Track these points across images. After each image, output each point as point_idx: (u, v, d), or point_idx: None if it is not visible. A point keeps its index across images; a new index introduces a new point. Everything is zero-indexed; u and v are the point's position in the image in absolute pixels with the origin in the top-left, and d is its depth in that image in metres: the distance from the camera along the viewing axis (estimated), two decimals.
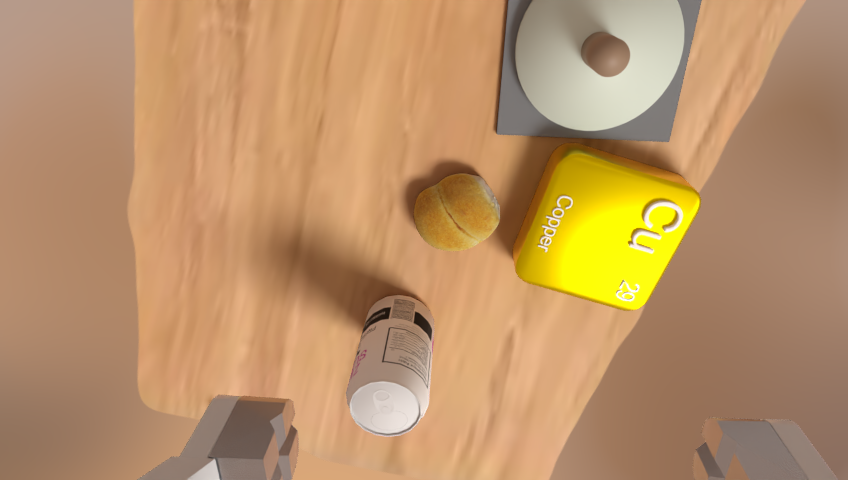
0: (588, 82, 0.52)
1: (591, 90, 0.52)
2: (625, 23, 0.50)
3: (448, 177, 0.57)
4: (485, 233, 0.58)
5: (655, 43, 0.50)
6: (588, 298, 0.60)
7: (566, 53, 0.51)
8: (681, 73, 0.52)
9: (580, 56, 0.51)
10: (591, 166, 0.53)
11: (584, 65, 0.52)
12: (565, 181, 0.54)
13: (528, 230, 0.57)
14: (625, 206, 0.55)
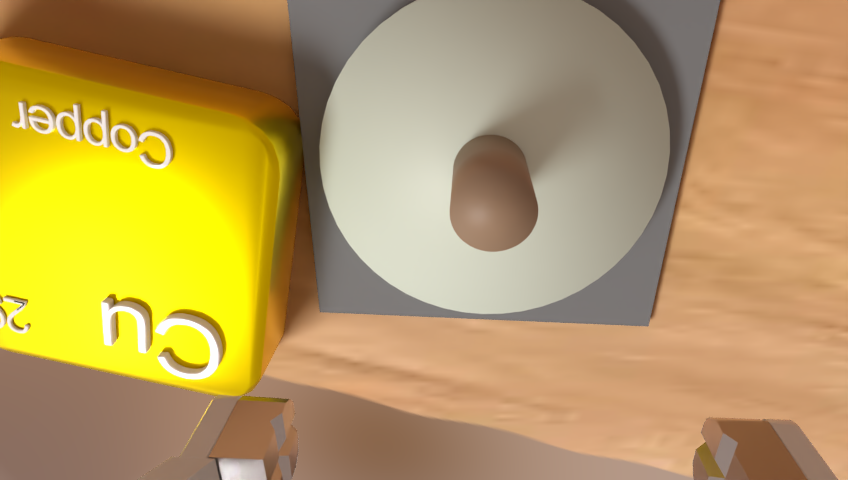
0: (422, 159, 0.24)
1: (406, 167, 0.24)
2: (540, 213, 0.25)
3: None
4: None
5: (501, 269, 0.26)
6: None
7: (483, 104, 0.23)
8: (443, 313, 0.29)
9: (477, 135, 0.24)
10: (256, 194, 0.23)
11: (458, 145, 0.24)
12: (206, 142, 0.22)
13: (55, 69, 0.22)
14: (186, 277, 0.25)
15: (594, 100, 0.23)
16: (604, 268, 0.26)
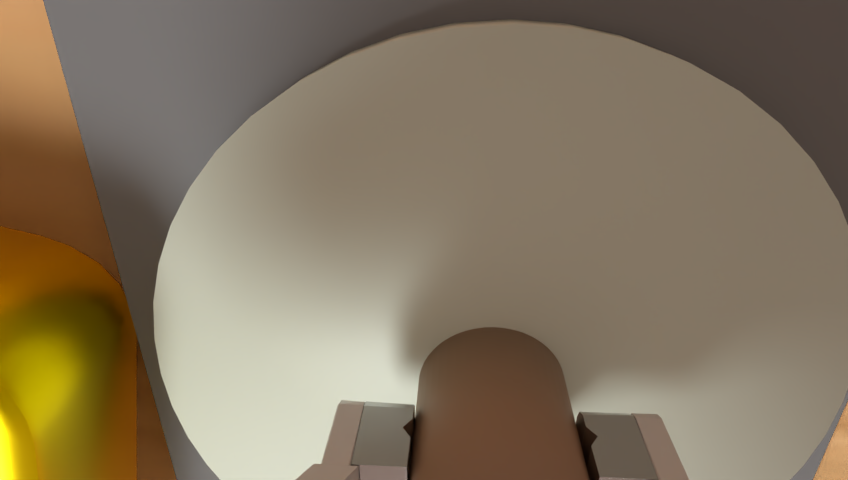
0: (358, 365, 0.12)
1: (328, 377, 0.12)
2: None
3: None
4: None
5: None
6: None
7: (478, 273, 0.11)
8: None
9: (465, 328, 0.12)
10: None
11: (428, 344, 0.12)
12: None
13: None
14: None
15: (711, 270, 0.11)
16: None
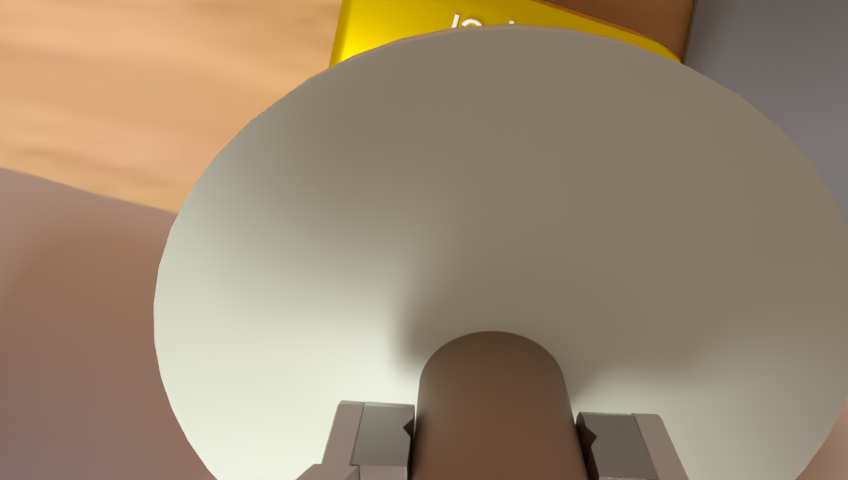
0: (358, 368, 0.12)
1: (328, 381, 0.12)
2: None
3: None
4: None
5: None
6: None
7: (479, 277, 0.11)
8: None
9: (466, 331, 0.12)
10: None
11: (428, 348, 0.12)
12: None
13: None
14: None
15: (711, 274, 0.11)
16: None
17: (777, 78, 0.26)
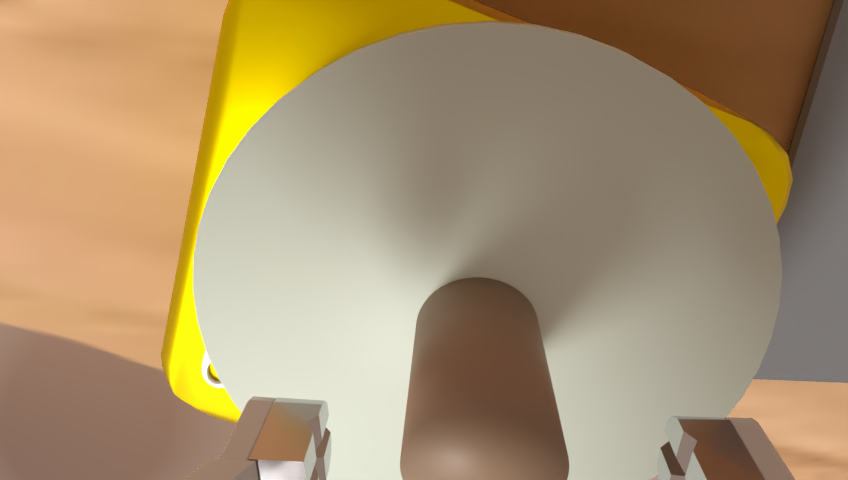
0: (364, 311, 0.15)
1: (339, 323, 0.15)
2: (559, 391, 0.15)
3: None
4: None
5: None
6: (188, 255, 0.16)
7: (465, 230, 0.13)
8: None
9: (455, 278, 0.14)
10: None
11: (423, 293, 0.14)
12: None
13: (483, 11, 0.13)
14: None
15: (655, 226, 0.13)
16: None
17: None
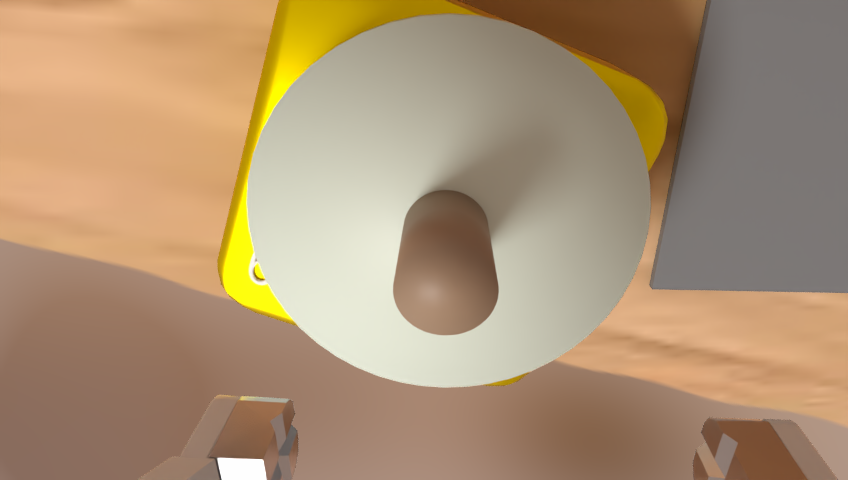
0: (367, 217, 0.21)
1: (349, 226, 0.21)
2: (505, 276, 0.22)
3: None
4: None
5: (462, 338, 0.23)
6: (244, 179, 0.22)
7: (435, 156, 0.20)
8: (790, 287, 0.27)
9: (429, 190, 0.20)
10: None
11: (408, 202, 0.21)
12: None
13: (454, 2, 0.19)
14: None
15: (563, 151, 0.19)
16: (580, 335, 0.23)
17: (794, 110, 0.23)
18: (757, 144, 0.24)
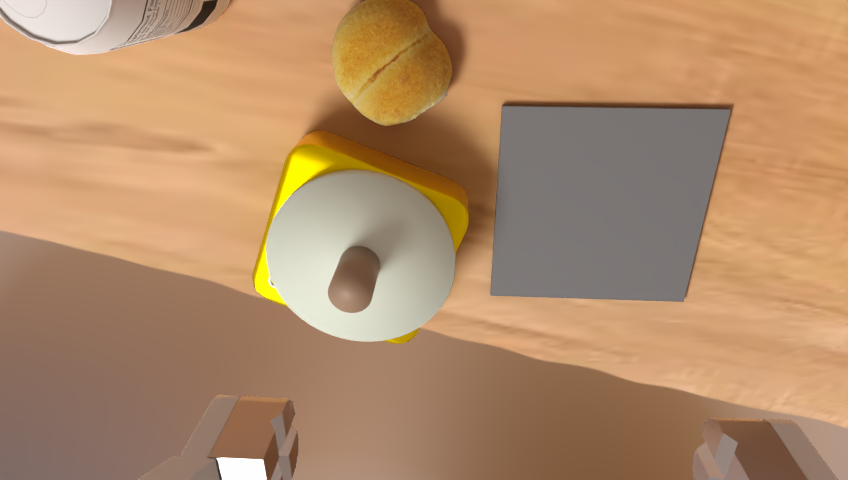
0: (322, 258, 0.44)
1: (314, 262, 0.44)
2: (390, 286, 0.45)
3: (445, 49, 0.40)
4: (369, 110, 0.41)
5: (372, 316, 0.46)
6: None
7: (352, 231, 0.43)
8: (564, 295, 0.50)
9: (351, 246, 0.43)
10: None
11: (341, 251, 0.44)
12: None
13: (365, 162, 0.42)
14: None
15: (410, 229, 0.42)
16: (430, 315, 0.46)
17: (549, 206, 0.46)
18: (533, 222, 0.47)
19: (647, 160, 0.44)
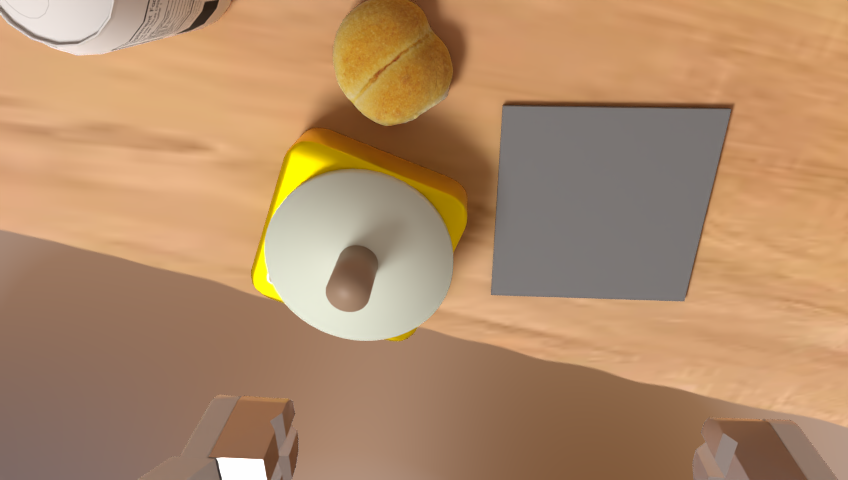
0: (320, 257, 0.44)
1: (312, 261, 0.44)
2: (388, 285, 0.45)
3: (446, 49, 0.40)
4: (370, 110, 0.41)
5: (371, 315, 0.46)
6: None
7: (350, 230, 0.43)
8: (565, 294, 0.50)
9: (349, 245, 0.43)
10: (450, 235, 0.44)
11: (339, 250, 0.44)
12: None
13: (364, 159, 0.42)
14: None
15: (408, 228, 0.42)
16: (428, 314, 0.46)
17: (549, 206, 0.46)
18: (534, 222, 0.47)
19: (647, 160, 0.44)
